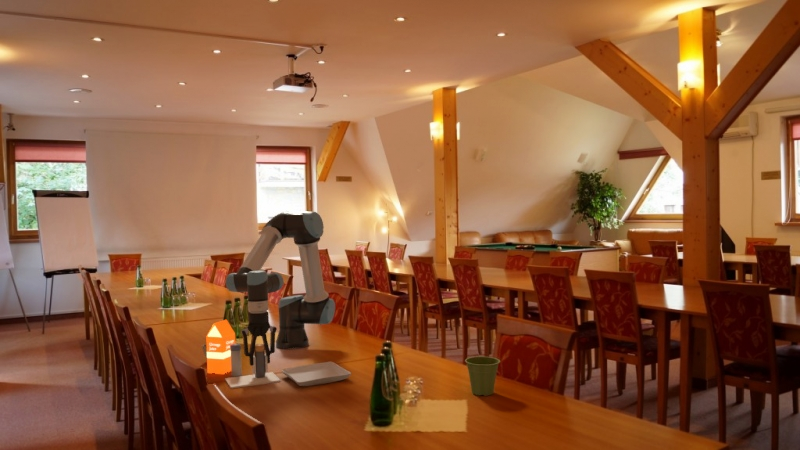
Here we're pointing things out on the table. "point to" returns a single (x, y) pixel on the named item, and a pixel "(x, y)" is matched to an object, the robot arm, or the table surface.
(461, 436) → the table surface
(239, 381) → the paper
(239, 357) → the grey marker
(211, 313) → the table surface
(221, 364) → the orange juice
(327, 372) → the salad plate
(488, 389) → the plant pot
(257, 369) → the marker
